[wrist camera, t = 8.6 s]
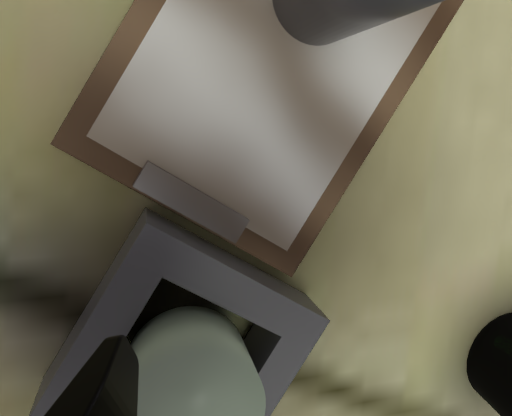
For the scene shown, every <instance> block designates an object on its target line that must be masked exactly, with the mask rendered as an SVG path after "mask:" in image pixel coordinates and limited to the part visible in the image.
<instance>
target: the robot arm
mask: <svg viewBox="0 0 512 416" xmlns="http://www.w3.org/2000/svg"><path fill="white" fill-rule="evenodd" d="M138 380H139V362H138V358H137V355H136V354H135V352H134V350H133V348H132V346H131V345H130V343H129V341H128V339H127V338H126V336H124V335H117V336H111V337H107V338H105V339H104V340H103V341H102V343H101V344H100V345H99V346H98V348H97V349H96V350H95V351H94V353H93V354H92V355H91V357H90V358H89V359H88V360H87V362H86V363H85V364H84V365H83V367H82V368H81V369H80V370H79V372H78V373H77V374H76V376H75V377H74V378H73V379H72V381H71V382H70V383H69V384H68V386H67V387H66V388H65V389H64V391H63V392H62V393H61V395H60V396H59V397H58V398H57V400H56V401H55V402H54V403H53V405H52V406H51V407H50V408H49V410H48V411H47V412H46V414H45V415H44V416H137V407H138Z"/></svg>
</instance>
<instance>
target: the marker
mask: <svg viewBox="0 0 512 416" xmlns="http://www.w3.org/2000/svg"><path fill="white" fill-rule="evenodd" d="M442 1H445V0H272V2H273V7H274V10H275V13H276V16H277V18H278V20H279V22H280V23H281V25H282V26H283V28H284V29H285V30H286V31H287V32H288V33H289V34H290V35H291V36H292V37H293V38H295V39H296V40H298V41H300V42H302V43H305V44H309V45H315V46H321V45H327V44H330V43H333V42H336V41H338V40H341V39H344V38H346V37H349V36H352V35H354V34H357V33H360V32H362V31H365V30H368V29H370V28H373V27H376V26H378V25H381V24H384V23H386V22H389V21H392V20H394V19H397V18H400V17H402V16H405V15H408V14H410V13H413V12H416V11H418V10H421V9H424V8H426V7H429V6H432V5H434V4H437V3H440V2H442Z"/></svg>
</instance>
